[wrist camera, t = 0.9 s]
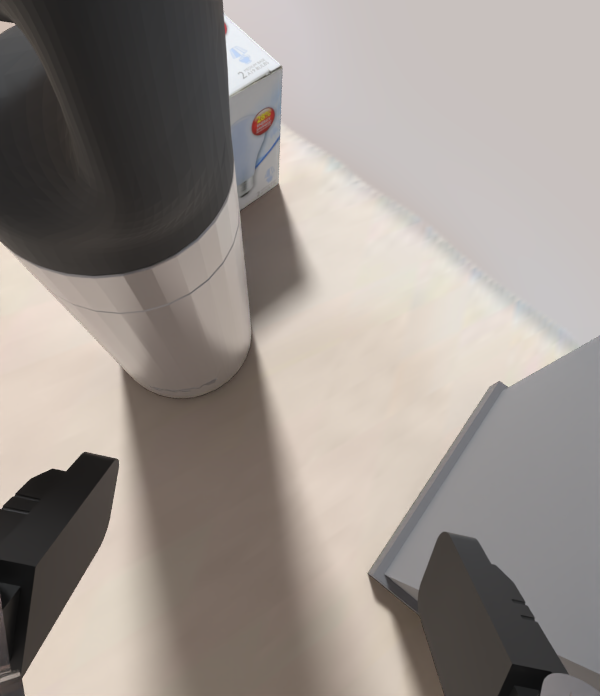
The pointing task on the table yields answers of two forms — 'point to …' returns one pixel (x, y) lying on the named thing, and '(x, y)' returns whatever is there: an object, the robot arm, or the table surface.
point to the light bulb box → (253, 114)
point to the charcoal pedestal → (523, 503)
